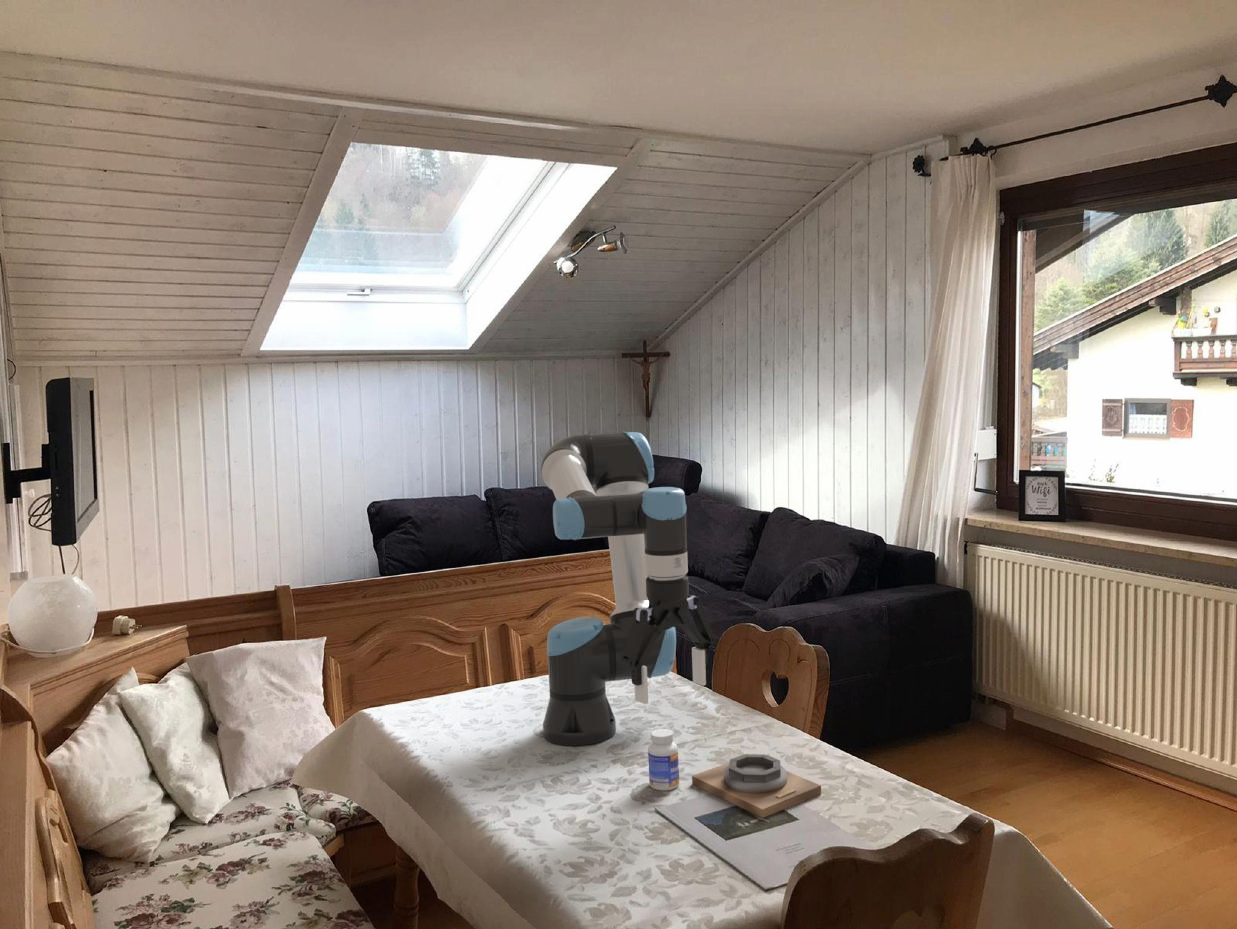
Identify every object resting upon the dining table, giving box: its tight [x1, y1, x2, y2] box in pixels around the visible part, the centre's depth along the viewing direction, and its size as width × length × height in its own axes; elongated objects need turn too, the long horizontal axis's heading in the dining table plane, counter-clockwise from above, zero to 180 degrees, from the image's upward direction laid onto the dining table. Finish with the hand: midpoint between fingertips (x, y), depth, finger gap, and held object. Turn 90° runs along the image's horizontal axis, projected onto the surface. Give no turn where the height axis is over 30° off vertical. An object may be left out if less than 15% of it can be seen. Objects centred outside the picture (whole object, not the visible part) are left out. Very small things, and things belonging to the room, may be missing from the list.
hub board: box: [691, 753, 822, 819], centre depth 174 cm, size 18×14×4 cm
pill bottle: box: [647, 728, 680, 792], centre depth 177 cm, size 5×5×10 cm
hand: (671, 692), depth 176 cm, fingers open, 13 cm apart
